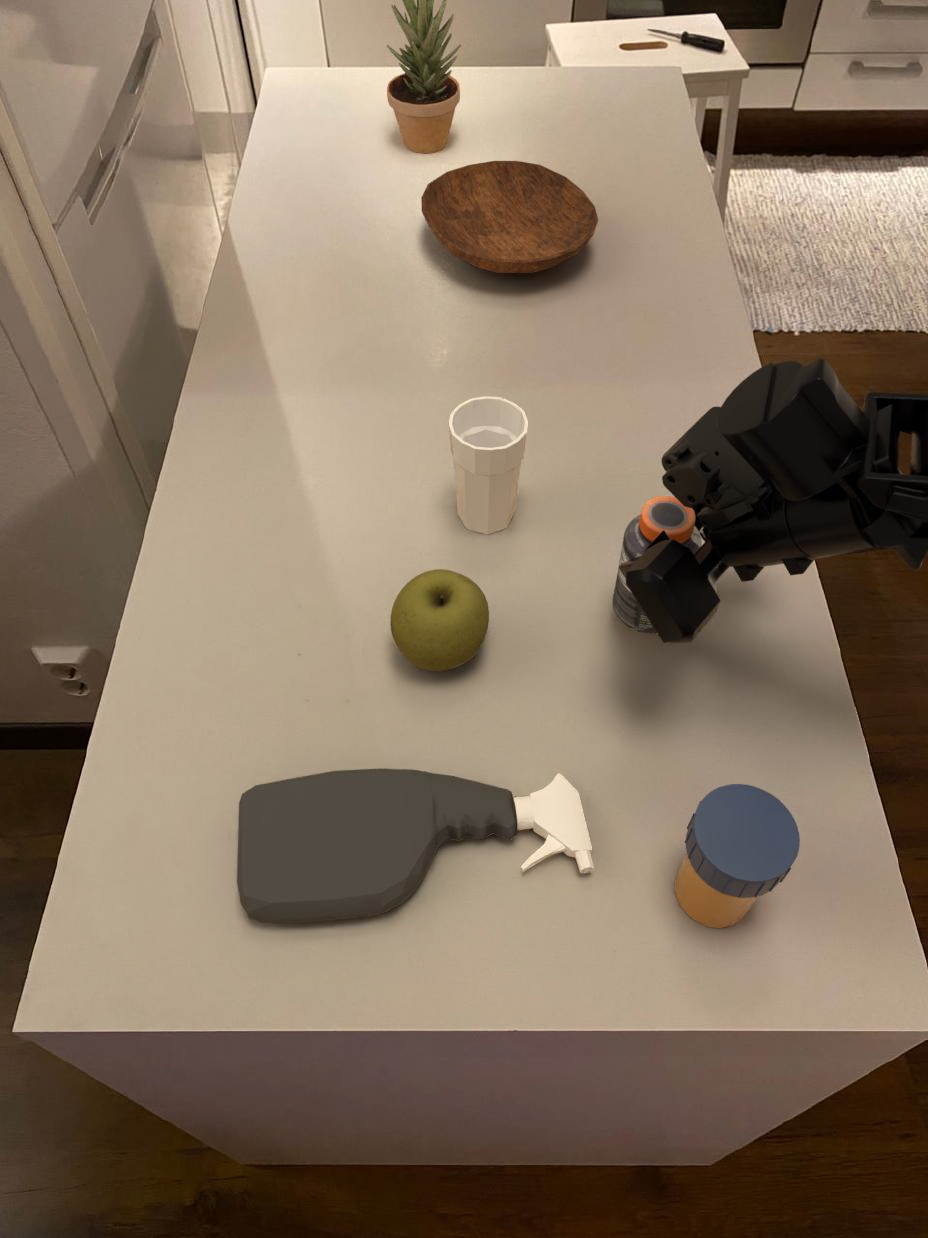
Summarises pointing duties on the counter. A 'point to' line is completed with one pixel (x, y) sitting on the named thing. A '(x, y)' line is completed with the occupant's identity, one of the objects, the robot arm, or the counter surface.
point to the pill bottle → (638, 537)
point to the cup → (487, 460)
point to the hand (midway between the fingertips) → (645, 546)
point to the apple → (439, 620)
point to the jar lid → (742, 840)
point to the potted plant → (424, 79)
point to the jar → (707, 900)
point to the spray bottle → (380, 837)
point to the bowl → (509, 215)
